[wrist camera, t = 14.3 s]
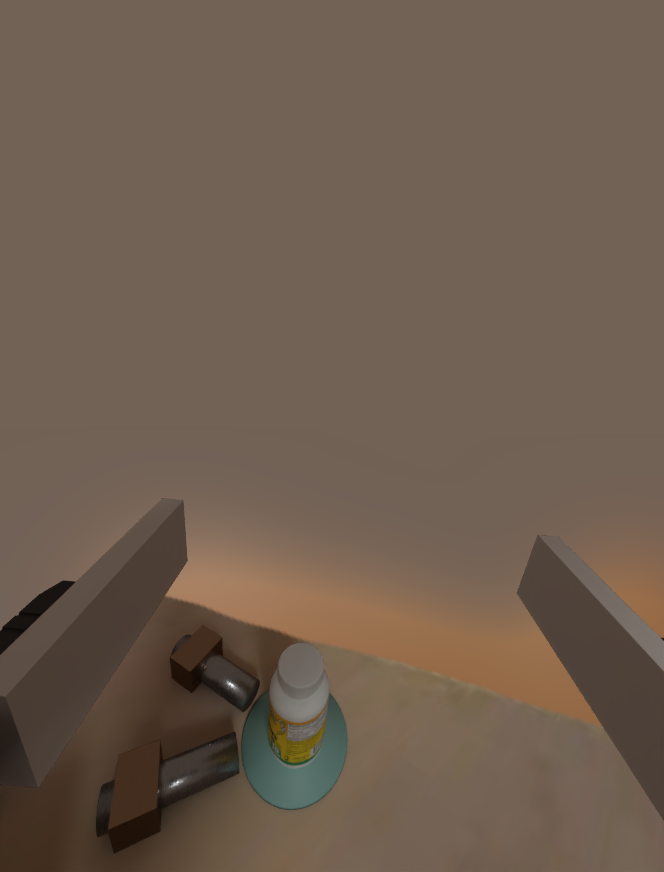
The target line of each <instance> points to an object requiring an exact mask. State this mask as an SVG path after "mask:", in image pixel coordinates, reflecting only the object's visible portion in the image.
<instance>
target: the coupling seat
mask: <svg viewBox="0 0 664 872" xmlns="http://www.w3.org/2000/svg"><path fill="white" fill-rule="evenodd" d="M268 721H269V690H268V691H267V692H266V693H265V694H264V695H262V697H261V698H260V699H259V700H258V701H257V702H256V704H255V705H254V707H253V708H252V710H251V712H250V714H249V716H248V719H247V721H246V724H245V728H244V732H243V737H242V759H243V766H244V769H245V773H246V775H247V778H248V780H249V782H250V784H251V786H252V787H253V789H254V790H255V791H256V793H257V794H258V795H259V796H260V797H261V798H262V799H263V800H264V801H266V802H267V803H269V804H271V805H273V806H275V807H278V808H281V809H286V810H296V809H302V808H305V807H308V806H310V805H312V804H314V803H316V802H318V801H319V800H320V799H321V798H323V797H324V796H325V795H326V794H327V793H328V792H329V791H330V790H331V788H332V787H333V785H334V784H335V783H336V781H337V779H338V777H339V775H340V773H341V771H342V768H343V765H344V761H345V757H346V751H347V729H346V723H345V720H344V716H343V714H342V711H341V709H340V707H339V705H338V704H337V702H336V701H335V699H334V698H333V697H332V696H331V695H330V693H329V699H328V708H327V716H326V726H325V735H324V741H323V745H322V747H321V750H320V752H319V754H318V755H317V757H316V758H315V759H314V760H313V761H312V762H311V763H310V764H308V765H306V766H304V767H301V768H297V769H293V768H287V767H285V766H283V765H282V764H281V763H279V761H278V760H277V759H276V758H275V756H274V755H273V753H272V751H271V749H270V746H269V740H268V725H269V722H268Z"/></svg>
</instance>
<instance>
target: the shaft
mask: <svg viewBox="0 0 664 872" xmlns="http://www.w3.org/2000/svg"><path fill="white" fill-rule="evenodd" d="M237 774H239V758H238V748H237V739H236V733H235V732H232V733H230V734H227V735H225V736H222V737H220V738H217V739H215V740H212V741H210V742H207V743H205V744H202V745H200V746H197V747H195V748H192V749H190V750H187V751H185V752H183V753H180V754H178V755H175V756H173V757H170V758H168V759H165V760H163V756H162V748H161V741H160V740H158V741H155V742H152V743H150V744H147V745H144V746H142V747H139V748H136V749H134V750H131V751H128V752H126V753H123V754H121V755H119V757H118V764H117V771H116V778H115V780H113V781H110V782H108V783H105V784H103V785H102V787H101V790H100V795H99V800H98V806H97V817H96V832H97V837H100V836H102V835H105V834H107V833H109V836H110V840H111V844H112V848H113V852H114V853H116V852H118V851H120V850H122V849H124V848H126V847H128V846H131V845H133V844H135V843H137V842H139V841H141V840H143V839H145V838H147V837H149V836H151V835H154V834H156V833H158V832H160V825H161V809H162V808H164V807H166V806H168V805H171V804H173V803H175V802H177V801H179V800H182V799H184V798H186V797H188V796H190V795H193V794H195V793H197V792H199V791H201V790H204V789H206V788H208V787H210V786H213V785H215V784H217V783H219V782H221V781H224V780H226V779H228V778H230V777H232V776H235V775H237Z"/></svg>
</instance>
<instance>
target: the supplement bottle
mask: <svg viewBox="0 0 664 872" xmlns="http://www.w3.org/2000/svg"><path fill="white" fill-rule="evenodd" d="M328 699H329V680H328V677H327V674H326V672H325V670H324V660H323V657H322V654H321V653H320V651H319V650H318V649H317V648H316V647H314V646H313V645H311V644H308V643H295V644H293V645H290V646H289V647H287V648H286V649H285V650H284V651H283V653H282V654H281V656H280V658H279V662H278V668H277V669H276V670H275V672H274V674H273V676H272V679H271V682H270V688H269V721H268V722H269V725H268V740H269V746H270V749H271V751H272V753H273V755H274V756H275V758H276V759H277V760H278V761H279V763H281V764H282V765H283V766H285V767H287V768H293V769H297V768H301V767H304V766H306V765H308V764H310V763H311V762H312V761H313V760H314V759H315V758H316V757H317V755H318V754H319V752H320V750H321V747H322V745H323V741H324V735H325V726H326V716H327V708H328Z"/></svg>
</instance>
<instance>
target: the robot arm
mask: <svg viewBox="0 0 664 872" xmlns="http://www.w3.org/2000/svg"><path fill="white" fill-rule="evenodd" d="M186 562H187V547H186V532H185V518H184V503H183V500H176V499H166V498H162V499H161V500H160V501H159V502H158V503H157V504H156V505H155V506H154V507H153V508H152V509H151V510H150V511H149V512H148V513H147V514H146V515H145V516H144V517H143V518H142V519H141V520H140V521H139V522H138V523H136V524H135V525H134V526H133V528H131V529H130V530H129V531H128V532H127V533H126V534H125V535H124V536H123V537H122V538H121V539H120V540H119V541H118V542H117V543H116V544H115V545H114V546H113V547H112V548H111V549H110V550H109V551H108V552H106V554H104V555H103V556H102V557H101V558H100V559H99V560H98V561H97V562H96V563H95V564H94V565H93V566H92V567H91V568H90V569H89V570H88V571H87V572H86V573H85V574H84V575H83V576H82V577H81V578H80V579H79V580H77V581H76V582H73V581H61V582H60V583H58V584H56V585H55V586H53V587H51V588H49V589H48V590H46V591H44V592H43V593H41V594H39V595H38V596H37V597H36V598H35V599H34V600H32V601H31V602H30V603H29V604H28V605H27V606H26V607H25V608H23V610H21V611H20V612H19V615H18V616H15V617H13V618H12V619H11V620H10V621H9V622H8V623H7V624H6V625H4V626H3V628H2V630H1V631H0V784H1V785H10V786H20V787H31V788H39V787H40V785H41V784H42V782H43V781H44V779H45V778H46V776H47V774H48V773H49V771H50V770H51V768H52V767H53V765H54V764H55V762H56V761H57V759H58V758H59V756H60V755H61V753H62V752H63V750H64V749H65V747H66V746H67V744H68V742H69V741H70V739H71V738H72V736H73V735H74V733H75V732H76V730H77V729H78V727H79V726H80V724H81V723H82V721H83V720H84V718H85V717H86V715H87V713H88V712H89V710H90V709H91V707H92V706H93V704H94V703H95V701H96V700H97V698H98V697H99V695H100V694H101V692H102V691H103V689H104V688H105V686H106V684H107V683H108V681H109V680H110V678H111V677H112V675H113V674H114V672H115V671H116V669H117V668H118V666H119V665H120V663H121V662H122V660H123V659H124V657H125V656H126V654H127V652H128V651H129V649H130V648H131V646H132V645H133V643H134V642H135V640H136V639H137V637H138V636H139V634H140V633H141V631H142V630H143V628H144V627H145V625H146V623H147V622H148V620H149V619H150V617H151V616H152V614H153V613H154V611H155V610H156V608H157V607H158V605H159V604H160V602H161V601H162V599H163V598H164V596H165V594H166V593H167V591H168V590H169V588H170V587H171V585H172V584H173V582H174V581H175V579H176V578H177V576H178V575H179V573H180V571H181V570H182V569H183V567H184V565H185V564H186ZM517 594H518V596H519V597H520V599H521V600H522V602H523V603H524V605H525V607H526V608H527V610H528V611H529V613H530V614H531V616H532V617H533V619H534V620H535V622H536V624H537V625H538V627H539V628H540V630H541V631H542V633H543V634H544V636H545V637H546V639H547V641H548V642H549V644H550V645H551V647H552V648H553V650H554V652H555V653H556V655H557V656H558V658H559V659H560V661H561V662H562V664H563V665H564V667H565V668H566V670H567V671H568V673H569V674H570V676H571V678H572V679H573V681H574V682H575V684H576V686H577V687H578V688H579V690H580V692H581V693H582V695H583V696H584V698H585V700H586V701H587V702H588V704H589V705H590V707H591V709H592V710H593V712H594V713H595V715H596V717H597V718H598V719H599V721H600V723H601V724H602V726H603V727H604V729H605V730H606V732H607V734H608V735H609V737H610V738H611V740H612V741H613V743H614V744H615V746H616V748H617V749H618V751H619V752H620V754H621V755H622V757H623V758H624V760H625V761H626V763H627V765H628V766H629V768H630V769H631V771H632V772H633V774H634V775H635V777H636V779H637V780H638V782H639V783H640V785H641V786H642V788H643V789H644V791H645V792H646V794H647V796H648V797H649V799H650V800H651V802H652V803H653V805H654V806H655V808H656V809H657V811H658V813H659V814H660V816H661V817H662V819H663V820H664V638H660V637H659V636H658V635H657V634H656V633H655V632H654V631H653V630H652V629H651V628H650V627H649V626H648V625H647V624H646V623H645V622H644V621H643V620H642V619H641V618H640V617H639V616H638V615H637V614H636V613H635V612H634V611H633V610H632V609H631V608H630V607H629V606H628V605H627V604H626V603H625V602H624V601H623V600H622V599H621V598H620V597H619V596H618V595H617V594H616V593H615V592H614V591H613V590H612V589H611V588H610V587H609V586H608V585H607V584H606V583H605V582H604V581H602V579H601V578H600V577H599V576H598V575H597V574H596V573H595V572H594V571H593V570H591V569H590V568H589V567H588V566H587V565H586V564H585V563H584V562H583V561H582V560H581V559H580V558H579V557H578V556H577V555H576V554H575V553H574V552H573V551H572V550H571V549H570V548H569V547H568V546H567V545H566V544H565V543H564V542H563V541H562V540H561V539H560V538H559V537H555V536H545V535H538V536H537V538H536V541H535V544H534V547H533V549H532V552H531V555H530V558H529V561H528V563H527V566H526V569H525V572H524V575H523V577H522V580H521V583H520V586H519V588H518V591H517Z"/></svg>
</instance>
